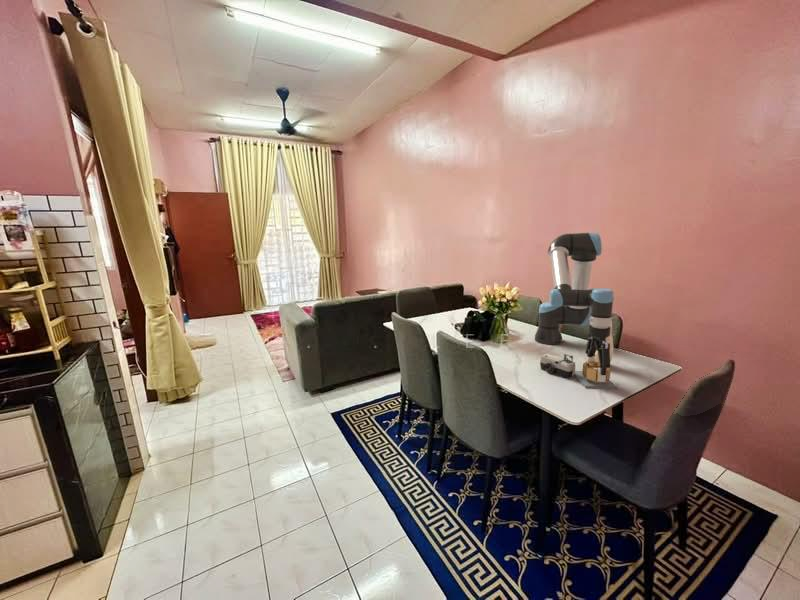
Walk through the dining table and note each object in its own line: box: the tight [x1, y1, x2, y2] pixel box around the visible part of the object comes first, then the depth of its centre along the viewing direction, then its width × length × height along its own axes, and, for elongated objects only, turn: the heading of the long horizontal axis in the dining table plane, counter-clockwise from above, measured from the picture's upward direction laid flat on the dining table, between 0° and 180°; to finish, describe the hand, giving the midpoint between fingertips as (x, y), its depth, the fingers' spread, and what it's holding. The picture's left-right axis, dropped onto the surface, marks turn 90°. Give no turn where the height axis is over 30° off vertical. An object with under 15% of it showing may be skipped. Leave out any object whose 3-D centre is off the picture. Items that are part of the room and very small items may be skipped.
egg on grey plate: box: [573, 368, 617, 389], centre depth 141 cm, size 15×12×6 cm
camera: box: [539, 353, 576, 380], centre depth 149 cm, size 15×8×10 cm, turn 30°
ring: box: [581, 361, 612, 382], centre depth 138 cm, size 10×10×5 cm
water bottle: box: [595, 313, 615, 363], centre depth 153 cm, size 10×9×28 cm
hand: (595, 376), depth 138 cm, fingers closed on ring, 9 cm apart
